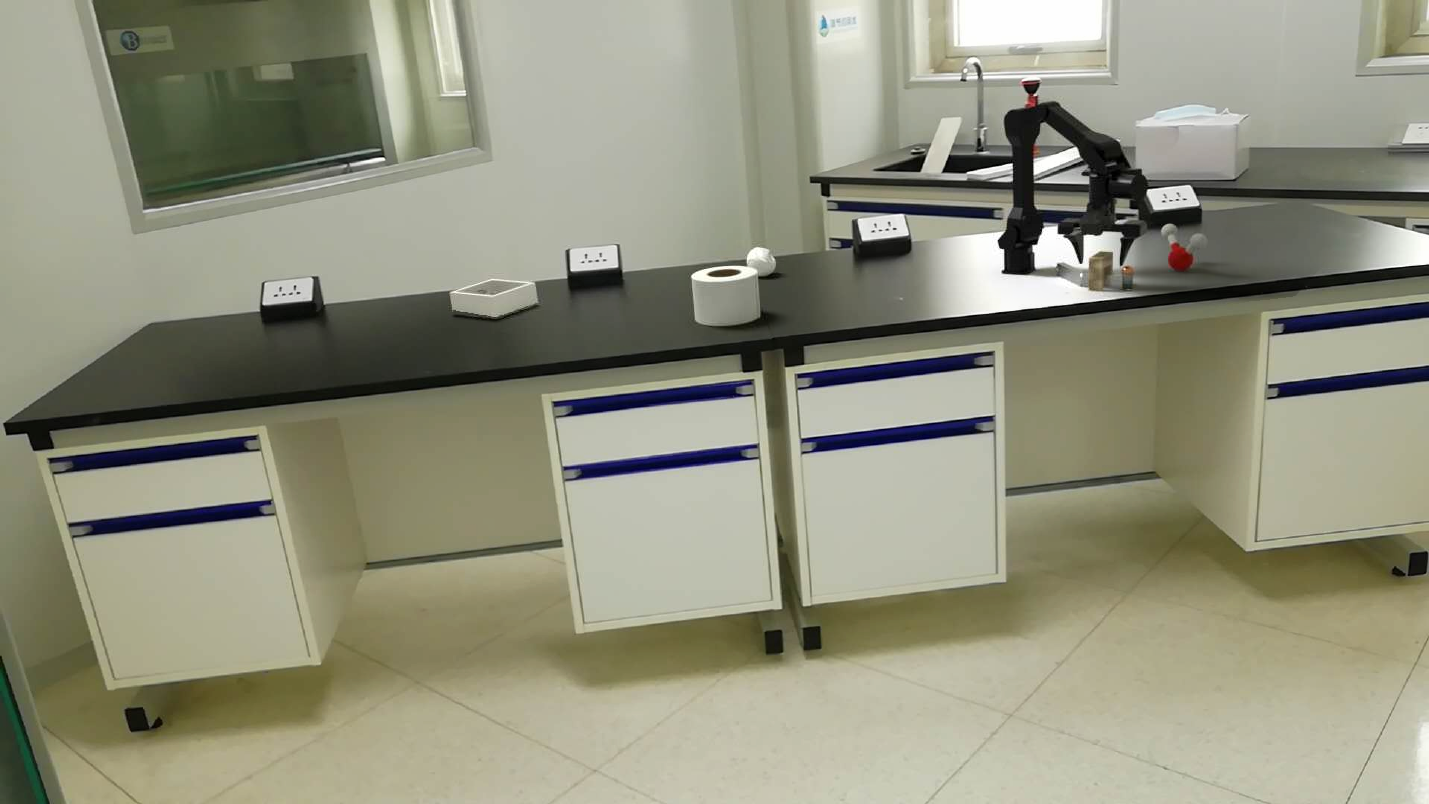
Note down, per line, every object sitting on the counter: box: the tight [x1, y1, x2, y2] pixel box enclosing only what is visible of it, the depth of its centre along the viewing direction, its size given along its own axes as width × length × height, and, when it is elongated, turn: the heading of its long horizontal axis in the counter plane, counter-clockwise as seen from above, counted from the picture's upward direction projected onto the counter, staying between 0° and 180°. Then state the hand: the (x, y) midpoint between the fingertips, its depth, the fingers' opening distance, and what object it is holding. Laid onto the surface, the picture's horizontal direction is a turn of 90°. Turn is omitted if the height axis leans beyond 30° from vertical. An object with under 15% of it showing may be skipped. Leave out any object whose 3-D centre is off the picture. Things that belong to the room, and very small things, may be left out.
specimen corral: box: [449, 278, 539, 317], centre depth 300 cm, size 16×15×6 cm
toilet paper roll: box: [690, 265, 761, 327], centre depth 271 cm, size 16×15×11 cm
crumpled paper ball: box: [746, 247, 777, 277], centre depth 309 cm, size 8×8×8 cm
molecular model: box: [1160, 223, 1208, 272], centre depth 274 cm, size 18×6×10 cm, turn 6°
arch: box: [1088, 251, 1114, 292], centre depth 266 cm, size 3×7×8 cm, turn 144°
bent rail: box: [1055, 262, 1135, 290], centre depth 271 cm, size 23×6×5 cm, turn 29°
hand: (1101, 264), depth 266 cm, fingers open, 9 cm apart
